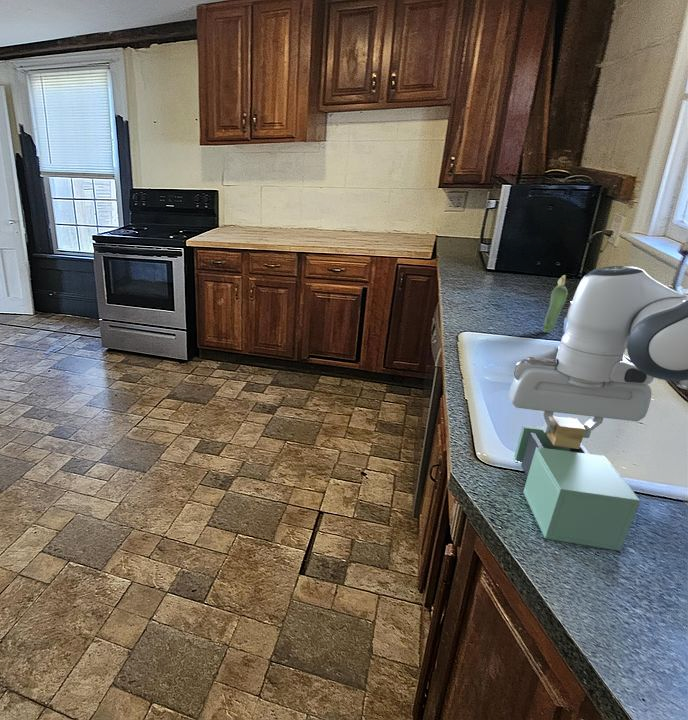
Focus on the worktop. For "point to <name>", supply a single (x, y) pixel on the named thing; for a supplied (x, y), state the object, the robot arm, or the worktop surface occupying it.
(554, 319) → the vegetable
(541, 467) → the mint green box
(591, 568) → the worktop surface
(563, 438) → the cube
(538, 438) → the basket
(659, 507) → the worktop surface
